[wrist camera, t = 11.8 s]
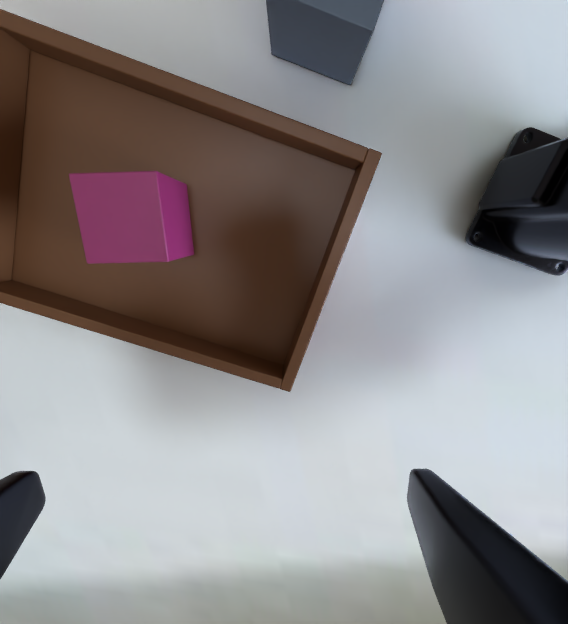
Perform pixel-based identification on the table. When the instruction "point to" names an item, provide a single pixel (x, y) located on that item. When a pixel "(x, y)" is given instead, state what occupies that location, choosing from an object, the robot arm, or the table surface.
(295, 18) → the slate block
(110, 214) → the mulberry block
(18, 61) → the tray
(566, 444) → the table surface
